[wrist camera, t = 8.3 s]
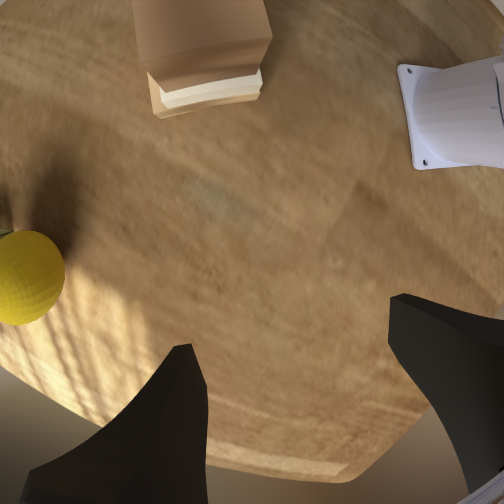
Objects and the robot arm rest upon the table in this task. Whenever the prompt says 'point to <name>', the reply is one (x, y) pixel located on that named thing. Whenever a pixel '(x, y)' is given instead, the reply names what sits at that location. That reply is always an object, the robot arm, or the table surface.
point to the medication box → (4, 233)
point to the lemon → (28, 276)
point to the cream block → (212, 90)
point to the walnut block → (200, 40)
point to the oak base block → (163, 111)
